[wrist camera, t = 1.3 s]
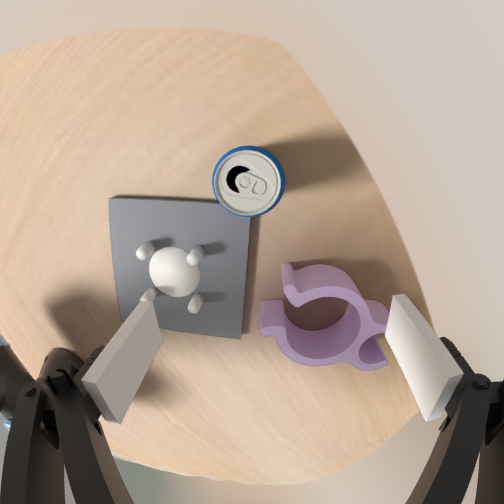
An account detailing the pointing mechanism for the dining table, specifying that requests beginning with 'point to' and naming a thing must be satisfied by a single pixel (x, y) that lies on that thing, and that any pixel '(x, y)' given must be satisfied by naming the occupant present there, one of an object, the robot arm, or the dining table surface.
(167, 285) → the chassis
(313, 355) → the clip
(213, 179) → the beverage can
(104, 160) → the dining table surface
